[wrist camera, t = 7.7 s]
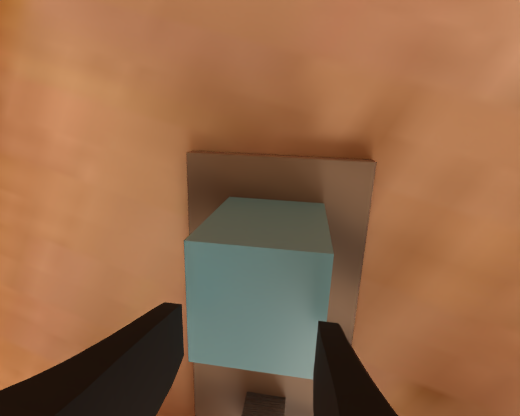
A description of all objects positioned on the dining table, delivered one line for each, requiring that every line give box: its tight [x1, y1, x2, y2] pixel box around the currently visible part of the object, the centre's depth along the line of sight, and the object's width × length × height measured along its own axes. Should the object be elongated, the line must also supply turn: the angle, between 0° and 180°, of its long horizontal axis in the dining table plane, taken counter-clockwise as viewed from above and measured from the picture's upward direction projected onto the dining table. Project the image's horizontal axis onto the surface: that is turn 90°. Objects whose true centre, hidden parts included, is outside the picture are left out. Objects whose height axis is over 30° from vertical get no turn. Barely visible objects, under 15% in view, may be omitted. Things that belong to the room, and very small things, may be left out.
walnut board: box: [187, 151, 377, 416], centre depth 20 cm, size 22×10×1 cm, turn 178°
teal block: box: [184, 197, 334, 380], centre depth 14 cm, size 5×5×7 cm
